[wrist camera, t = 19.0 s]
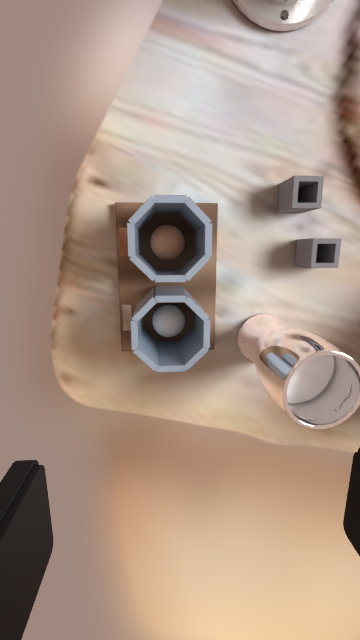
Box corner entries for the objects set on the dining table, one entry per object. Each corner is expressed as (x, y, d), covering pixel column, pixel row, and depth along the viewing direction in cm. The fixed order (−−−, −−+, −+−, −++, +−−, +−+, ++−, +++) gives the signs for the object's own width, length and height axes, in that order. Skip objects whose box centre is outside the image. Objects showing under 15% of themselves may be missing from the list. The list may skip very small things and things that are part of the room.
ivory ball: (152, 302, 36) (151, 308, 32) (183, 301, 36) (186, 307, 32) (153, 332, 37) (152, 341, 33) (183, 332, 37) (186, 340, 33)
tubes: (133, 207, 33) (126, 194, 26) (200, 208, 34) (212, 195, 26) (138, 346, 37) (132, 372, 29) (198, 345, 37) (209, 370, 29)
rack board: (116, 203, 34) (114, 202, 33) (216, 204, 35) (218, 203, 34) (122, 349, 38) (121, 352, 36) (213, 347, 38) (214, 349, 37)
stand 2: (296, 239, 36) (313, 238, 32) (321, 239, 36) (341, 238, 32) (294, 265, 37) (310, 267, 33) (319, 265, 37) (338, 267, 33)
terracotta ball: (150, 226, 34) (148, 223, 30) (183, 226, 34) (185, 223, 31) (151, 259, 35) (149, 260, 31) (183, 259, 35) (185, 260, 31)
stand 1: (279, 184, 35) (294, 175, 31) (305, 184, 35) (323, 176, 31) (277, 212, 35) (292, 207, 31) (302, 212, 35) (320, 207, 32)
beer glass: (221, 339, 38) (261, 395, 24) (262, 298, 37) (329, 329, 23) (260, 375, 40) (319, 448, 25) (300, 336, 39) (386, 388, 24)
